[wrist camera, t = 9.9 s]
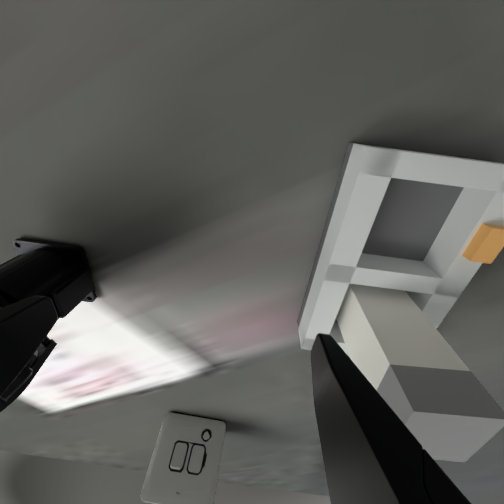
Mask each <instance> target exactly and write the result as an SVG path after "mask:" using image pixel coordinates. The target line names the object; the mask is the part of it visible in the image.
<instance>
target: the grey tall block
mask: <svg viewBox="0 0 504 504" xmlns="http://www.w3.org/2000/svg"><path fill="white" fill-rule="evenodd" d="M336 319H337V322H338V325H339V328H340V330H341V333H342V336H343V339H344V342H345V345H346V348H347V350H348V353H349V356H350V359H351V360H352V361H353V363H354V364H355V365H356V366H357V367H358V369H359V370H360V371H361V372H362V373H363V375H364V376H365V377H366V378H367V380H368V381H369V382H370V383H371V384H372V386H373V387H374V388H375V389H376V390H377V392H378V393H379V394H380V395H381V397H382V398H383V399H384V400H385V401H386V403H387V404H388V405H389V406H390V407H391V409H392V410H393V411H394V412H395V414H396V415H397V416H398V417H399V418H400V420H401V421H402V422H403V423H404V424H405V426H406V427H407V428H408V429H409V430H410V432H411V433H412V434H413V435H414V437H415V438H416V439H417V440H418V441H419V443H420V444H421V445H422V448H423V449H425V450H426V451H427V452H428V453H429V455H430V456H431V457H432V458H433V459H436V460H446V461H457V462H466V461H467V460H468V459H469V458H470V457H471V456H472V455H473V454H474V453H475V452H476V451H478V450H479V449H480V448H481V447H482V446H483V445H484V444H485V443H486V442H487V441H489V440H490V439H491V438H492V437H493V436H494V435H495V434H496V433H497V432H498V431H499V430H501V429H502V428H503V427H504V411H503V410H502V409H501V408H500V406H499V405H498V404H497V403H496V401H495V400H494V399H493V398H492V397H491V395H490V394H489V393H488V392H487V390H486V389H485V388H484V387H483V386H482V384H481V383H480V382H479V381H478V379H477V378H476V377H475V376H474V375H473V373H472V372H471V371H470V370H469V369H468V367H467V366H466V365H465V364H464V362H463V361H462V360H461V359H460V358H459V356H458V355H457V354H456V353H455V351H454V350H453V349H452V348H451V347H450V345H449V344H448V343H447V342H446V340H445V339H444V338H443V337H442V336H441V334H440V333H439V332H438V331H437V329H436V328H435V327H434V326H433V325H432V323H431V322H430V321H429V320H428V318H427V317H426V316H425V315H424V314H423V312H422V311H421V310H420V309H419V307H418V306H417V305H416V304H415V303H414V301H413V300H412V299H411V298H410V296H409V295H408V294H407V293H406V292H405V291H403V290H396V289H388V288H380V287H373V286H365V285H358V284H350V283H349V286H348V288H347V291H346V294H345V296H344V299H343V301H342V304H341V306H340V309H339V311H338V314H337V316H336Z"/></svg>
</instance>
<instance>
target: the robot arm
mask: <svg viewBox="0 0 504 504" xmlns="http://www.w3.org/2000/svg"><path fill="white" fill-rule="evenodd" d="M12 245H13V247H14V249H15V252H16V254H17V256H16V257H14V258H13V259H11V260H9V261H7V262H5V263H3V264H1V265H0V412H1V411H2V410H4V409H5V408H6V407H7V406H8V405H10V404H11V403H12V402H13V401H14V400H15V399H16V398H17V397H18V396H19V395H20V394H21V393H22V392H23V391H24V390H25V389H26V387H27V386H28V385H29V384H30V382H31V381H32V379H33V378H34V376H35V375H36V373H37V372H38V371H39V369H40V368H41V366H42V365H43V363H44V362H45V360H46V359H47V358H48V356H49V355H50V353H51V352H52V350H53V349H54V347H55V346H56V345H57V343H56V342H55V341H54V340H52V339H51V340H50V339H49V338H48V337H47V334H48V333H49V331H50V330H51V328H52V327H53V326H54V324H55V323H56V321H57V320H58V319H59V318H64V317H65V316H66V315H67V314H68V313H69V312H70V311H71V310H73V309H74V308H75V307H76V306H77V305H78V304H79V303H80V302H81V301H86V302H93V301H94V300H95V299H96V298H97V296H96V293H95V289H94V285H93V281H92V278H91V274H90V270H89V266H88V262H87V259H86V255H85V251H84V249H83V248H81V247H79V246H74V245H66V244H58V243H51V242H43V241H36V240H28V239H21V238H18V239H16V240H14V241H12ZM77 251H78V252H79V253H78V252H77ZM311 366H312V381H313V396H314V406H315V413H316V419H317V424H318V430H319V436H320V442H321V448H322V454H323V460H324V465H325V471H326V477H327V483H328V489H329V495H330V500H331V504H471V503H470V502H469V501H468V499H467V498H466V497H465V496H464V495H463V494H462V493H461V491H460V490H459V489H458V488H457V487H456V486H455V484H454V483H453V482H452V481H451V480H450V478H449V477H448V476H447V475H446V474H445V473H444V471H443V470H442V469H441V468H440V467H439V466H438V464H437V463H436V462H435V461H434V459H433V458H432V457H431V456H430V455H429V453H428V452H427V451H426V450H425V449H423V448H422V445H421V444H420V443H419V441H418V440H417V439H416V438H415V437H414V435H413V434H412V433H411V432H410V430H409V429H408V428H407V427H406V426H405V424H404V423H403V422H402V421H401V420H400V418H399V417H398V416H397V415H396V414H395V412H394V411H393V410H392V409H391V407H390V406H389V405H388V404H387V403H386V401H385V400H384V399H383V398H382V397H381V395H380V394H379V393H378V392H377V390H376V389H375V388H374V387H373V386H372V384H371V383H370V382H369V381H368V380H367V378H366V377H365V376H364V375H363V373H362V372H361V371H360V370H359V369H358V367H357V366H356V365H355V364H354V363H353V361H352V360H351V359H350V358H349V356H348V355H347V354H346V353H345V352H344V350H343V349H342V348H341V347H340V346H339V344H338V343H337V342H336V341H335V339H334V338H333V337H332V336H331V335H329V334H323V333H318V334H317V335H316V338H315V341H314V344H313V346H312V349H311Z"/></svg>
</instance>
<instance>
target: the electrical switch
mask: <svg viewBox="0 0 504 504" xmlns="http://www.w3.org/2000/svg"><path fill="white" fill-rule="evenodd" d="M225 430H226V425H225V423H224V422H223V421H217V420H211V419H206V418H200V417H194V416H188V415H182V414H176V413H171V412H170V413H168V414H167V415H166V416H165V418H164V421H163V424H162V427H161V430H160V433H159V436H158V439H157V443H156V446H155V449H154V452H153V455H152V459H151V462H150V465H149V468H148V471H147V475H146V478H145V481H144V484H143V488H142V491H141V499H142V501H144V502H148V503H155V504H214V500H215V494H216V487H217V481H218V475H219V468H220V462H221V455H222V449H223V443H224V437H225ZM206 431H208V432H209V435H210V438H209V439H208V440H204V439H203V437H202V436H203V435H204V433H205V432H206ZM173 469H174V470H173Z"/></svg>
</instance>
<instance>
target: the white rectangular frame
mask: <svg viewBox="0 0 504 504" xmlns="http://www.w3.org/2000/svg"><path fill="white" fill-rule="evenodd" d="M503 247H504V163H500V162H493V161H485V160H478V159H470V158H463V157H455V156H448V155H440V154H433V153H425V152H418V151H410V150H403V149H395V148H388V147H380V146H372V145H365V144H357V143H350V142H349V144H348V148H347V151H346V154H345V158H344V161H343V165H342V168H341V172H340V175H339V179H338V182H337V186H336V189H335V193H334V196H333V200H332V203H331V206H330V210H329V213H328V217H327V220H326V224H325V227H324V231H323V234H322V238H321V241H320V245H319V248H318V252H317V255H316V259H315V262H314V265H313V269H312V272H311V276H310V279H309V283H308V286H307V290H306V293H305V297H304V300H303V304H302V307H301V311H300V314H299V317H298V321H297V323H298V330H299V336H300V343H301V349H304V350H311V349H312V346H313V344H314V341H315V338H316V335H317V334H318V333H323V334H329V335H331V336H332V337H333V338H334V339H335V341H336V342H337V343H338V344H339V346H340V347H341V348H342V349H343V350H344V352H345V353H346V354H347V355H349V353H348V350H347V348H346V345H345V342H344V339H343V336H342V333H341V330H340V328H339V325H338V322H337V319H336V316H337V314H338V311H339V309H340V306H341V304H342V301H343V299H344V296H345V294H346V291H347V288H348V286H349V283H350V284H358V285H365V286H373V287H380V288H388V289H396V290H403V291H405V292H406V293H407V294H408V295H409V296H410V298H411V299H412V300H413V301H414V303H415V304H416V305H417V306H418V307H419V309H420V310H421V311H422V312H423V314H424V315H425V316H426V317H427V318H428V320H429V321H430V322H431V323H432V325H433V326H434V327H435V328H436V329H437V328H438V326H439V325H440V323H441V322H442V320H443V319H444V318H445V316H446V315H447V313H448V312H449V310H450V309H451V308H452V306H453V305H454V303H455V302H456V300H457V299H458V298H459V296H460V295H461V293H462V292H463V290H464V289H465V288H466V286H467V285H468V283H469V282H470V280H471V279H472V278H473V276H474V275H475V273H476V272H477V270H478V269H479V268H480V266H481V265H482V263H488V264H491V263H492V262H493V261H494V259H495V258H496V257H497V255H498V254H499V252H500V251H501V250H502V248H503Z"/></svg>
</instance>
